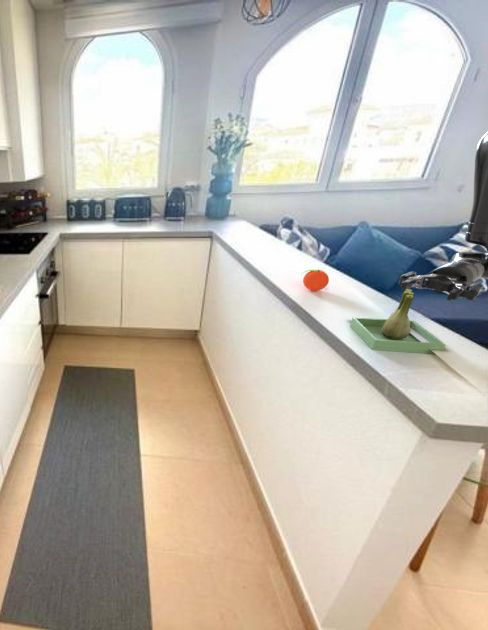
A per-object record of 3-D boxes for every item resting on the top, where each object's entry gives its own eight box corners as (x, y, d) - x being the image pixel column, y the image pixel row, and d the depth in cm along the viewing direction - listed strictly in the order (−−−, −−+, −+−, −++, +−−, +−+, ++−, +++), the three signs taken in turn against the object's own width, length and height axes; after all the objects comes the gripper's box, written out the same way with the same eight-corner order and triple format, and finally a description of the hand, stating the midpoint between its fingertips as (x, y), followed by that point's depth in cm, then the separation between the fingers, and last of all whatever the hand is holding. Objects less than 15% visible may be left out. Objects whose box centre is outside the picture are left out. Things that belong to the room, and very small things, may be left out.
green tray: (410, 329, 88) (413, 320, 87) (441, 354, 78) (446, 344, 77) (349, 325, 92) (352, 317, 91) (371, 349, 82) (375, 340, 80)
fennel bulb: (388, 329, 88) (405, 286, 83) (412, 338, 84) (431, 292, 79) (374, 335, 86) (391, 291, 81) (398, 344, 82) (417, 298, 77)
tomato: (295, 291, 114) (300, 270, 111) (298, 284, 119) (303, 264, 116) (325, 295, 110) (330, 274, 107) (326, 288, 115) (332, 268, 112)
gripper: (423, 257, 96) (395, 270, 89) (499, 270, 84) (474, 285, 77) (413, 283, 99) (386, 296, 92) (485, 298, 87) (460, 314, 81)
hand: (426, 291), depth 85 cm, fingers open, 8 cm apart
